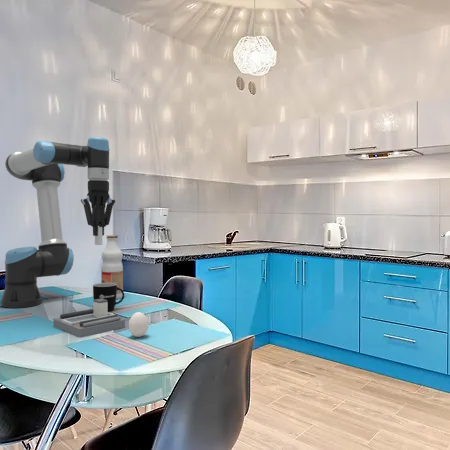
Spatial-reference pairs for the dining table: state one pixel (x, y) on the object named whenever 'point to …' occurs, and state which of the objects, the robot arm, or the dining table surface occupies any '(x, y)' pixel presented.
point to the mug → (107, 293)
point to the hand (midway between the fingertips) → (98, 244)
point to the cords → (92, 321)
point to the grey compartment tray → (74, 328)
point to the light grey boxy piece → (100, 307)
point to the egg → (138, 324)
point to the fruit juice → (112, 264)
